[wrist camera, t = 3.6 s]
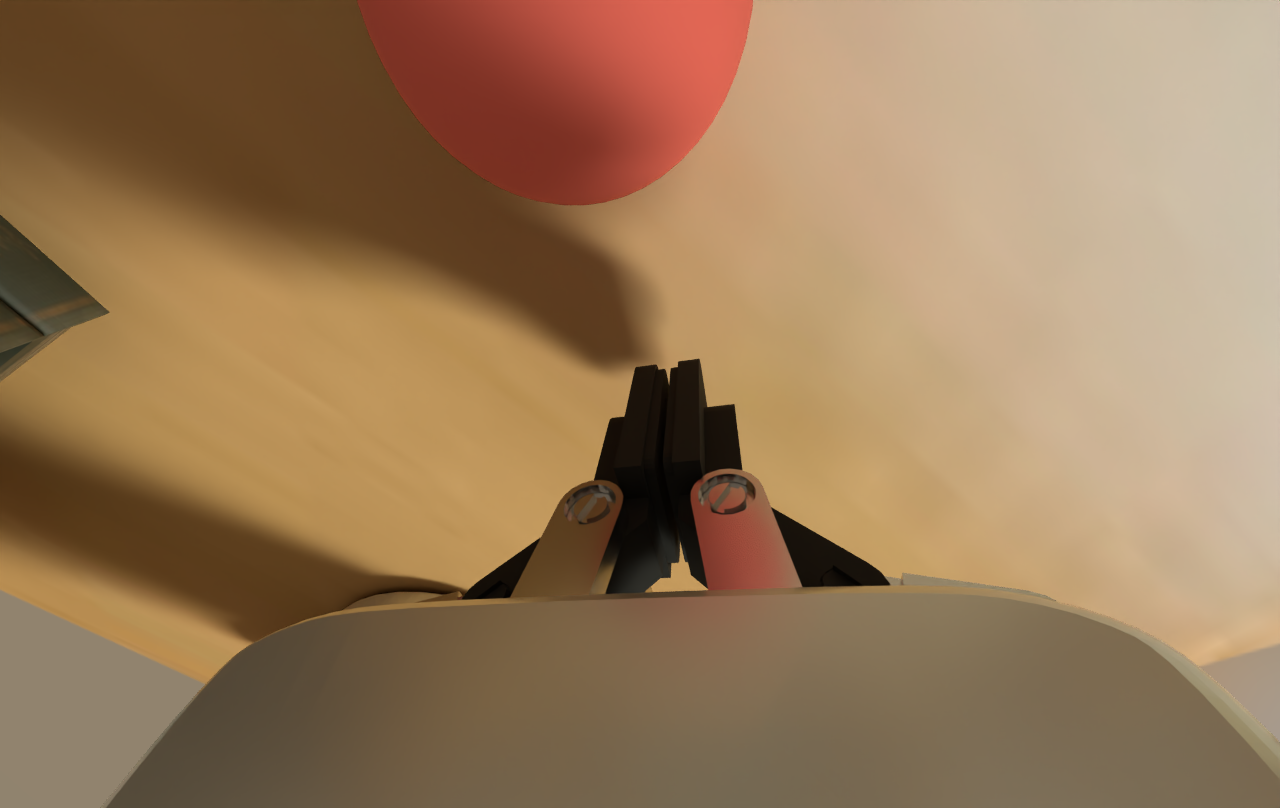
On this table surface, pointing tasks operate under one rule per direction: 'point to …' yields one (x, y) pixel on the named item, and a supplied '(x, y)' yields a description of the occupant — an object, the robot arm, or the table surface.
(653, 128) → the ball
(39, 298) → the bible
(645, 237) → the table surface
